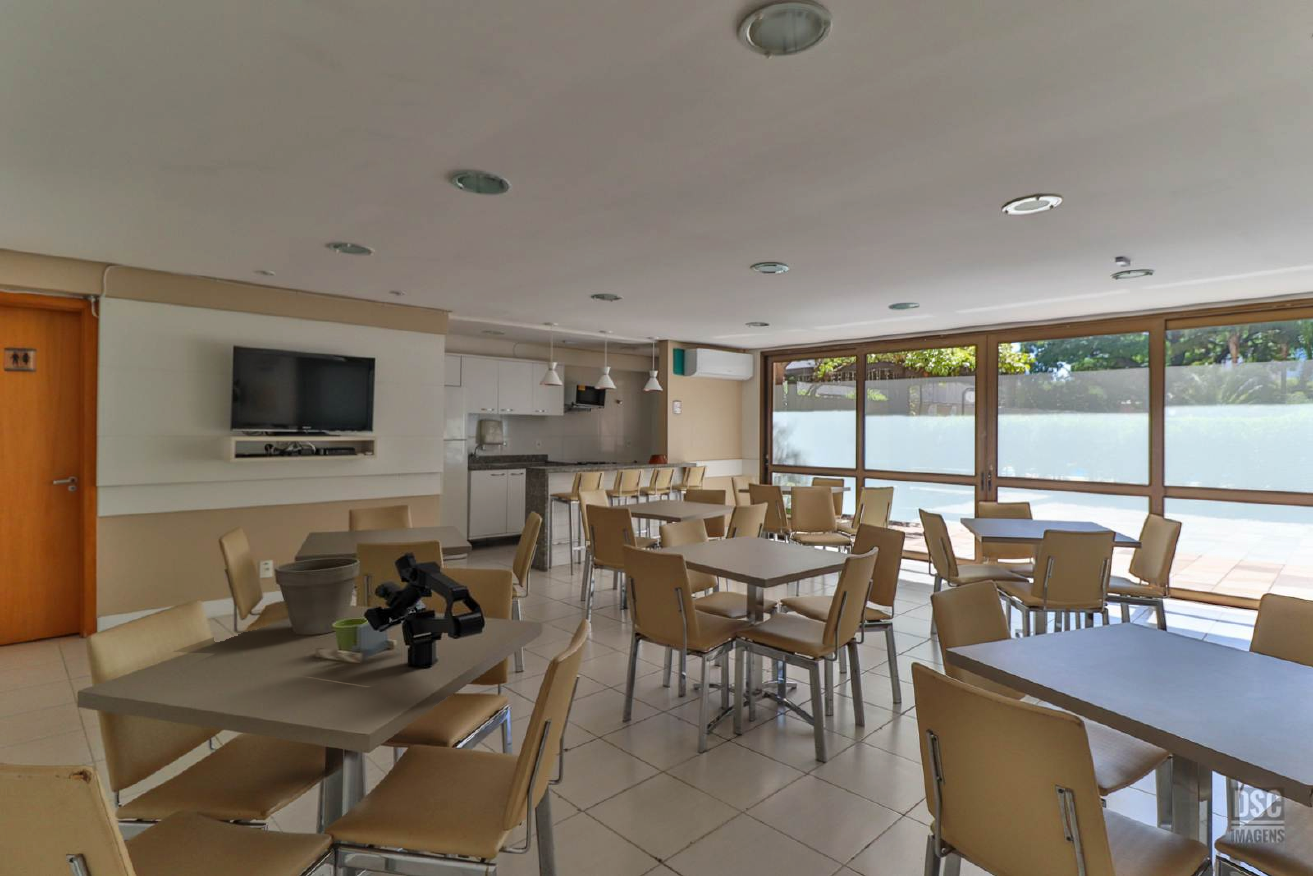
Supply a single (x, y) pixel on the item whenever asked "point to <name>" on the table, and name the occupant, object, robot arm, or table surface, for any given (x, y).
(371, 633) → the board
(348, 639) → the plant pot
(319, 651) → the wooden rail frame
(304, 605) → the plant pot
